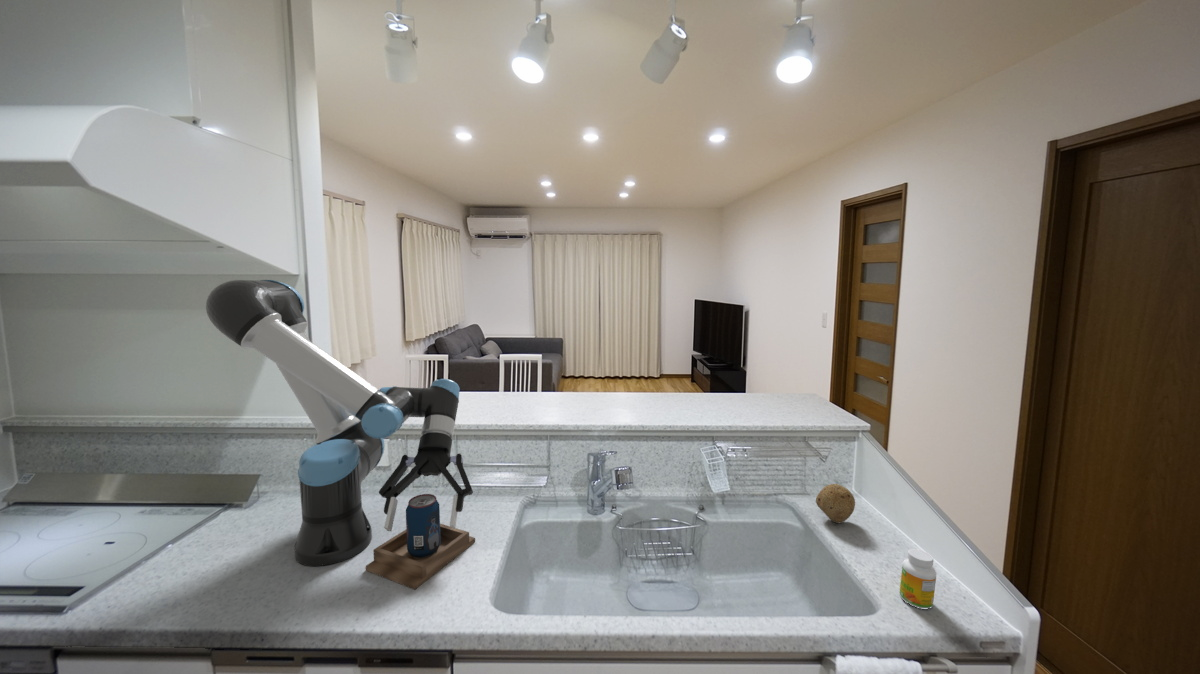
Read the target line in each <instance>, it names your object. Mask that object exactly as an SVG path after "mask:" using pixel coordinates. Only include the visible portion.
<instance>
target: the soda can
mask: <svg viewBox="0 0 1200 674" xmlns="http://www.w3.org/2000/svg"><path fill="white" fill-rule="evenodd" d="M406 506H407V507H406V509H405V525H406V526H405V530H406V531H407V550H408V552H409V553H410V555H411V556H412V557H414V558H426V557H429V556H431V555H433V554H434V553H435V552H436V551H437V550H438V548H439V546H440V543H441V539H440V524H441V518H440V517H441V515H440V514H441V512H440V503H439V501H438V499H437V496H436V495H434V494H430V493H425V494H424V493H423V494H419V495H415V496H413V497H411V498H410V499H409V500H408V505H406Z"/></svg>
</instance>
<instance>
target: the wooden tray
mask: <svg viewBox="0 0 1200 674" xmlns="http://www.w3.org/2000/svg"><path fill="white" fill-rule="evenodd" d="M440 539H441V543H440V546H439V548H438V550H437V551H436V552H435V553H434V554H433V555H431V556H429V557H426V558H414V557H412V556H411V555H410V553H409V552H408V550H407V531H406V529H405V530H403V531H401V532H399V533H398V534H397V535H395V536H393V537H391V538H389V540H386V541H385V542H383V543H381V544H380V545H379V546H377V547H375V548H373V561H371V562H369V563H368V564H365V571H366V572H369V573H372V574H375V575H377V576H378V577H379V576H380V577H382V578H385V579H387V580H390V581H393V582H395V583H398V584H400V585H403V586H404V587H407V588H410V589H412V590H416V589H418V588H419V587H421V585H423V584H424V583H425V582H427V581H428V580H430V578H431V577H433V576H435V575H436V574H437V573H438V572H439V571H441V570H442V569H444V567H445V566H447V565H448V564H449V563H451V562H452V561H453V560H454V559H455V558H456V557H458V556H459V555H461V554H462V553H463V552H465V550H467V549H468V548H469V547H471V546H472V545H473V544H475V542H476V537H474V536H470V532H469V531H466V530H462V529H459V528H456V527H455V528H454V529H452V528H451V527H450V525H446V524H444V523H440Z"/></svg>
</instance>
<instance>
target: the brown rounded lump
mask: <svg viewBox="0 0 1200 674" xmlns="http://www.w3.org/2000/svg"><path fill="white" fill-rule="evenodd" d="M815 503H816V505H817V507H818V509H819V510H821V511H822V512H823V513H824V514H825V515H826V516H827V518H828V519H829V520H830V521H832V522H833V521H834V522H833V523H835V522H837V523H836V524H840V523H841V524H842V523H843V522H845V521H847V520H848V519H849V518H850V517H851V515H852V514H853V513H854V510H855V508H856V499H855V497H854V495H853V494H852V492H851V490H849V489H848V488H846V487H845V486H843V485H841V484H838V483H831V484H827V485H825V486H824V487H823V488H822V489H821V490H820V491H819V493H818V494H817V495H816V497H815Z"/></svg>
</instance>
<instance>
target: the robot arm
mask: <svg viewBox="0 0 1200 674" xmlns="http://www.w3.org/2000/svg"><path fill="white" fill-rule="evenodd" d="M205 310H206V315H207V317H208V320H209V321H210V323H212V325H214V327H215V328H216V329H217V331H219V332H220V333H221V334H223V335H224V336H225V337H227V339H230V340H231V341H233V342H234V343H235V344H237V345H238V346H239V347H241V348H243V349H254V350H255V351H257V352H259V353H260V354H262V356H265V357H266V358H267V359H269V360H270V361H272V362H273V363H275V364H276V366H277V368H278V370H279V371H280V372H281V374H282V376H283V377H284V379H285V381H286V383H287V384H288V386H289V387H290V390H291V391H292V392H293V394H294V396H295V397H296V399H297V400H298V402H299V404H300V406H301V407H302V409H303V410H304V412H305V414H306V415H307V416H308V419H309V420H310V423H311V424H312V425H313V427H314V429H315V430H316V432H317V435H316V438H315V442H314V443H315V445H312V446H311V447H309V448H307V449H306V450H305V451H304V452H303V453H302V454H301V456H300V458H299V460H298V470H297V474H298V479H299V480H298V481H299V490H300V491H299V492H300V505H301V517H302V520H301V525H300V528H299V531H298V535H297V539H296V541H295V544H294V558H295V560H296V562H297V563H299V564H300V565H304V566H307V567H308V566H309V567H321V566H328V565H333V564H336V563H337V564H338V563H341V562H343V561H345V560H348V559H351V558H352V557H354V556H356V555H357V554H359V553H361V552H362V551H364V550H365V549H366V548H367V547H368V546H369V544H370V543H371V541H372V538H373V536H372V535H373V533H372V531H373V530H372V525H371V524H370V521H369V519H368V517H367V515H366V514H365V511H364V509H363V503H362V482H363V481H364V480H365V479H366V478H367V477H368V475H369V474H370V473H371V472H372V471H373V470H374V469H375V468H376V467H377V466H378V464H380V461H381V460H382V457H383V455H384V453H385V452H384V451H385V439H386V438H388V437H390V436H392V435H393V434H394V433H396V431H399V430H400V429H401V427H402V426H403V424H404V423H405V422H406V421H407V420H408V419H409V418H424V419H423V424H422V427H421V428H422V429H421V433H420V435H421V436H420V438H419V442H418V448H417V451H416V455H415V456H408V455H407V454H403V455H402V457H401V459H400V462H399V463H398V465H397V467H396V468H395V469H394V470H393V472H392V473H391V475H390V476H389V477H388V478H387V480H386V481H385V482H384V484H383V485H382V486H381V488H380V489H379V491H378V493H379V495H380V496H381V497H382V498H385V502H384V503H385V504H384V507H383V512H384V514H385V515H386V519H385V522H384V525H383V529H384V530H386V531H387V532H392V529H393V525H394V521H395V516H396V512H397V507H398V502H399V500H398V499H397V497H398V496H399V495H401V494H402V493H403V492H404V491H405V490H406V489H407V488H408V487H409V486H410V485H411V484H412V483H413V482H414V481H416V480H417V479H419V478H421V476H423V477H429V476H433V477H434V476H435V477H438V476H440V474H442V476H443V477H444V478H445V479H446V481H447V482H448V483H449V485H450V486H451V487H452V489H453V490H454V491H455V493H456V494H453V500H452V505H451V507H452V508H451V513H450V520H449V526H450V527H451V528H452V529H454V528H456V526H457V519H458V513H460V512H462V511H463V508H464V501H465V498H466V497H467V496H472V495H473V494H474V491H473V488H472V485H471V483H470V481H469V478H468V475H467V473H466V471H465V467H464V458H463V456H462V454H461V453H456V455H451V452H452V445H453V437H454V434H455V433H454V432H455V426H456V419H457V412H458V407H459V403H460V391H461V389H460V386H459V384H458V383H457V382H455V380H452V379H449V378H440V379H435V380H433V381H432V383H431V385H430V387H403V386H402V387H400V386H394V385H393V386H384V387H380V389H379V388H377V387H376V386H374V385H373V384H372V383H371V382H369V381H367V380H366V379H364V377H362V376H360V375H359V374H358V373H356V372H355V371H354V370H352V369H350V368H349V367H348V366H346V365H344V363H342V362H340V361H339V360H337V359H336V358H334V357H333V356H332V355H331V354H329V353H328V352H326V351H325V350H323V349H322V348H320V347H319V346H318V345H316V344H314V343H313V342H312V341H311V340H310V338H309V337H308V335H307V334H306V330H307V327H308V325H309V322H308V321H307V320H306V318H305V316H304V310H305V302H304V300H303V297H302V295H301V294H300V293H299V291H297V289H296V288H294V287H293V286H292V285H290V284H287V283H285V282H281V281H278V280H272V279H260V280H251V279H250V280H248V279H247V280H246V279H233V280H229V281H225V282H223V283H221V284H218V285H217V286H216V287H215V288H213V289H212V290H211V291H210V293H209V294H208V296H207V299H206V301H205ZM451 463H453V465H454V466H456V468H457V470H458V473H459V475H460V478H461V479H462V480H461V481H462V483H463V485H464V488H461V487H462V486H460V484H459V483H458V482H457V480H456V479H455V478H454V476H452V474H451V473H450V471H449V470H448V466H450V464H451ZM412 464H414V465H415V466H413V467H412V468H411V469H410V471H409V472H408V473H407V474H406V475H404V474H405V473H406V471H407V470H408V468H409V467H411V465H412ZM403 476H404V477H403ZM402 477H403V478H402ZM401 478H402V479H401Z"/></svg>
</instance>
